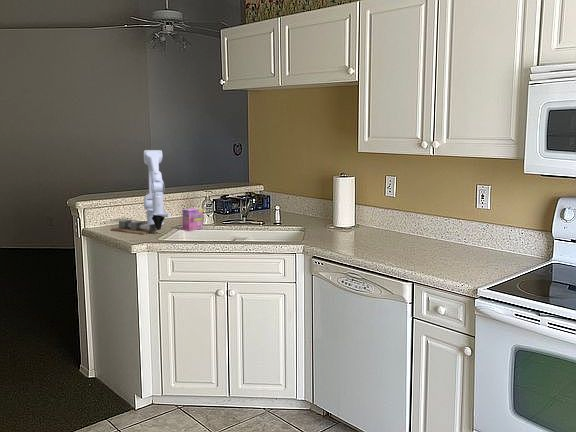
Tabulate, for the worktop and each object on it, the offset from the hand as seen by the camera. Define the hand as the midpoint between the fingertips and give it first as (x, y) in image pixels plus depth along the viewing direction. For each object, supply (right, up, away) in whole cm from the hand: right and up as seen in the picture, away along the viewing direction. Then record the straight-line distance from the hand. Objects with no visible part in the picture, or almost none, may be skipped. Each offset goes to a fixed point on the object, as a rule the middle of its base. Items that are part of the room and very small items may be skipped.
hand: (158, 229), depth 313 cm
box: (+16, 0, +15) cm, 22 cm away
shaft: (-12, 0, +6) cm, 13 cm away
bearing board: (-15, -1, +8) cm, 17 cm away
